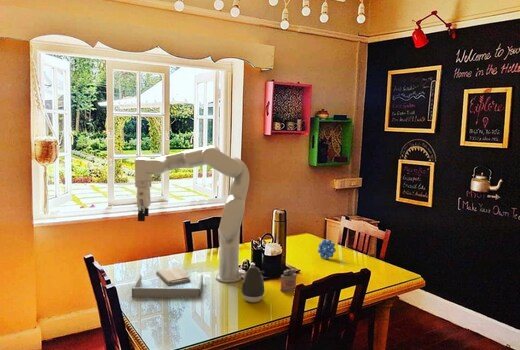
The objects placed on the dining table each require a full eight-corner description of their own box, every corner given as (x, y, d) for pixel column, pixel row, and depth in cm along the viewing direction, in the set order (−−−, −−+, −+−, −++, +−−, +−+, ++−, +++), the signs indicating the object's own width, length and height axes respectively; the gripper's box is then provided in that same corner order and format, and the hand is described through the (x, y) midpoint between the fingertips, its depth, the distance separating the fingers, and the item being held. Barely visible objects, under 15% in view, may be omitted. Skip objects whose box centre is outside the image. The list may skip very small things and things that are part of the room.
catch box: (202, 283, 208) (202, 275, 208) (200, 297, 193) (200, 288, 192) (139, 282, 206) (139, 274, 206) (131, 296, 191) (131, 288, 190)
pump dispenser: (256, 307, 185) (257, 273, 183) (236, 300, 190) (237, 267, 188) (268, 299, 194) (270, 266, 191) (249, 293, 199) (250, 261, 197)
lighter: (282, 293, 201) (283, 272, 199) (278, 290, 204) (279, 269, 202) (297, 290, 204) (298, 269, 203) (293, 287, 207) (294, 267, 206)
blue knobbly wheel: (338, 260, 249) (340, 239, 247) (332, 262, 244) (333, 242, 242) (321, 255, 257) (323, 235, 255) (315, 257, 252) (316, 237, 250)
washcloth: (168, 287, 204) (169, 280, 203) (155, 274, 218) (155, 268, 218) (192, 282, 210) (192, 276, 210) (177, 270, 225) (177, 264, 225)
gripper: (147, 187, 201) (148, 223, 203) (154, 181, 218) (154, 214, 220) (131, 186, 200) (131, 223, 202) (138, 180, 217) (138, 214, 220)
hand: (143, 218), depth 211 cm, fingers open, 9 cm apart
